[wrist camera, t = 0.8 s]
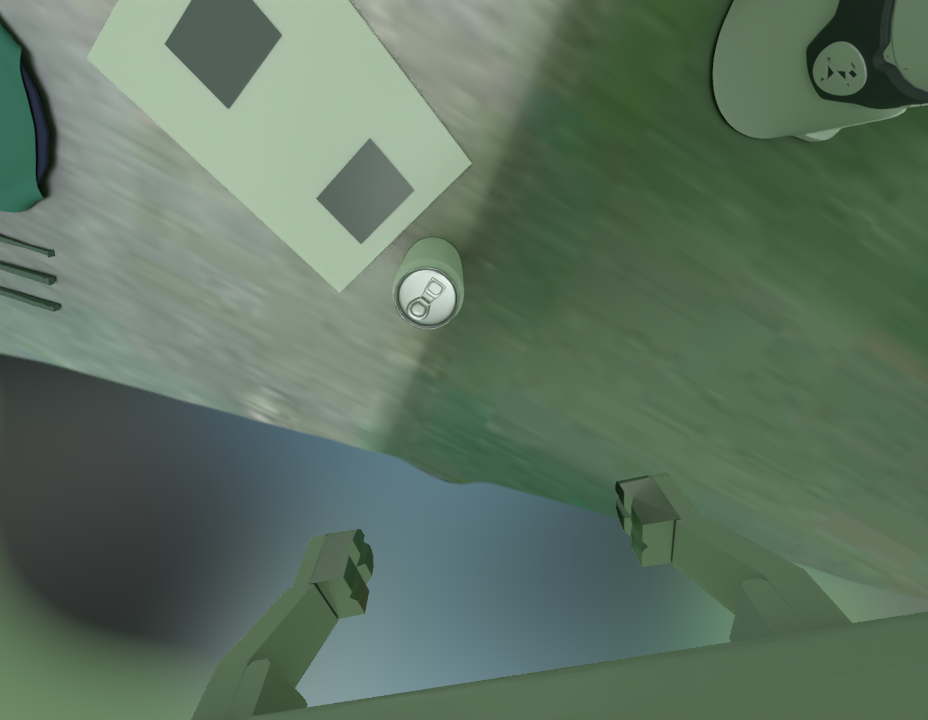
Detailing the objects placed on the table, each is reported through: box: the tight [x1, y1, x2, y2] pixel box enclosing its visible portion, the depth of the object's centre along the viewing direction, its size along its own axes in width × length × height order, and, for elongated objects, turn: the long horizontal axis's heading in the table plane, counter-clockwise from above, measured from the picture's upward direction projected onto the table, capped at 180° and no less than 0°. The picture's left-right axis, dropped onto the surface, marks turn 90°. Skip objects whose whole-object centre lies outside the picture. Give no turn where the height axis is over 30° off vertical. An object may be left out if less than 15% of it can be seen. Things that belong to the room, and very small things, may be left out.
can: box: [392, 237, 464, 330], centre depth 37 cm, size 6×6×12 cm
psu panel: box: [87, 0, 472, 293], centre depth 34 cm, size 20×28×1 cm
